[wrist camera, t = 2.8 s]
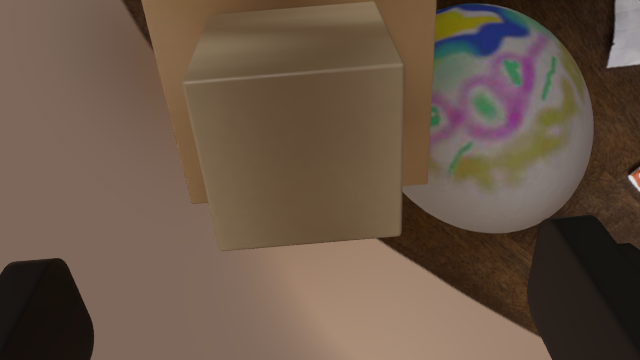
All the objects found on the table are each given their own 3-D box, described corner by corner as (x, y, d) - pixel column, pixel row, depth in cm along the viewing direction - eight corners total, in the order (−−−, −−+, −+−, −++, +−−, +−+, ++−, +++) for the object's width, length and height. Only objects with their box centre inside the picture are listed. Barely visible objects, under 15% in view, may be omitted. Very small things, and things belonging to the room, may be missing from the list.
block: (234, 157, 17) (219, 253, 14) (207, 13, 15) (179, 81, 11) (377, 145, 17) (402, 237, 14) (375, 0, 15) (406, 63, 11)
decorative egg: (516, -50, 33) (652, 29, 21) (551, 112, 40) (671, 247, 27) (332, 31, 36) (357, 146, 23) (393, 173, 42) (438, 322, 30)
